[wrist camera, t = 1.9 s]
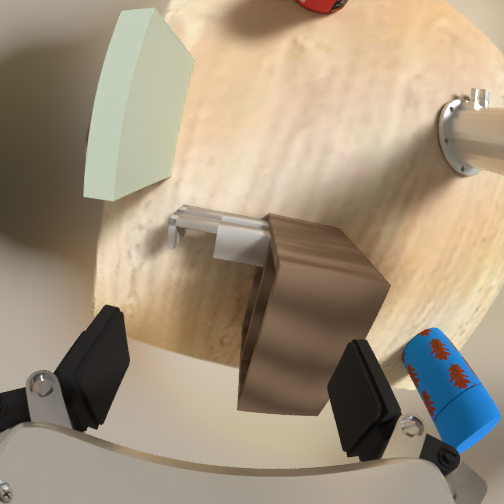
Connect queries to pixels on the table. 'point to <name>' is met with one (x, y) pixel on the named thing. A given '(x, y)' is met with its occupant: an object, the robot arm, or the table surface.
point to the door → (137, 107)
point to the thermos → (450, 390)
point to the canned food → (323, 5)
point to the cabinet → (291, 303)
